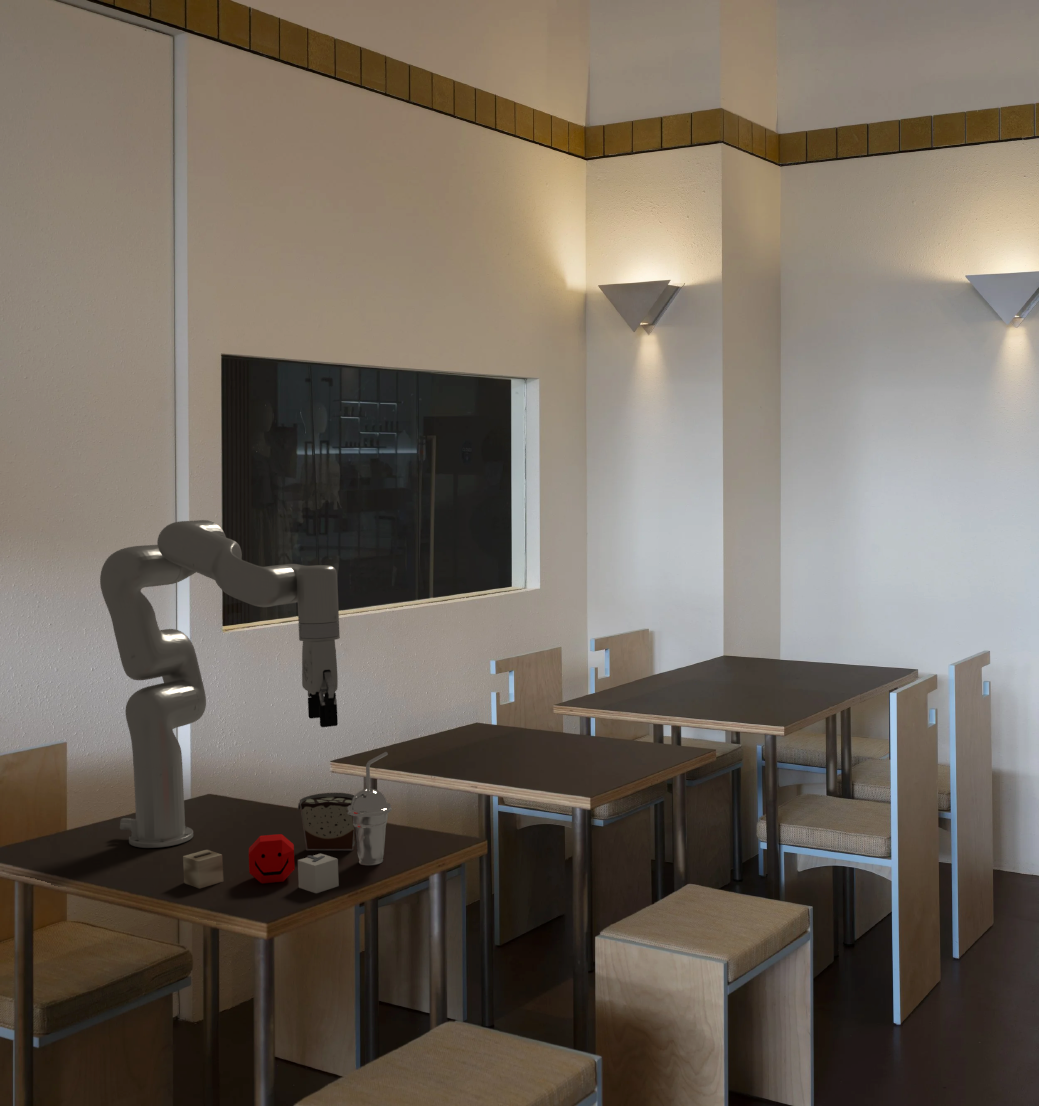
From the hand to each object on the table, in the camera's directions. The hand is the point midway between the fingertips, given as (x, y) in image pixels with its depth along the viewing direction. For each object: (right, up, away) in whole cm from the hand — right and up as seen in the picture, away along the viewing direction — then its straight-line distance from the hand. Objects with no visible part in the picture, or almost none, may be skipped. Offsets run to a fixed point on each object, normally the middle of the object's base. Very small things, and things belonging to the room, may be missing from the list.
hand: (322, 721), depth 229 cm
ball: (-8, -28, -8) cm, 30 cm away
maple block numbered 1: (-20, -28, -8) cm, 36 cm away
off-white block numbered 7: (+1, -28, -13) cm, 31 cm away
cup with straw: (+9, -27, +1) cm, 28 cm away
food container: (0, -26, +12) cm, 29 cm away
